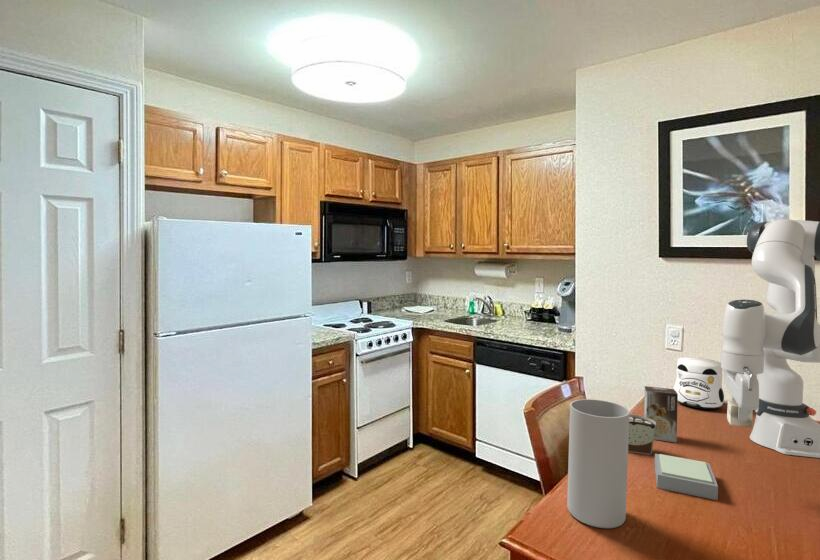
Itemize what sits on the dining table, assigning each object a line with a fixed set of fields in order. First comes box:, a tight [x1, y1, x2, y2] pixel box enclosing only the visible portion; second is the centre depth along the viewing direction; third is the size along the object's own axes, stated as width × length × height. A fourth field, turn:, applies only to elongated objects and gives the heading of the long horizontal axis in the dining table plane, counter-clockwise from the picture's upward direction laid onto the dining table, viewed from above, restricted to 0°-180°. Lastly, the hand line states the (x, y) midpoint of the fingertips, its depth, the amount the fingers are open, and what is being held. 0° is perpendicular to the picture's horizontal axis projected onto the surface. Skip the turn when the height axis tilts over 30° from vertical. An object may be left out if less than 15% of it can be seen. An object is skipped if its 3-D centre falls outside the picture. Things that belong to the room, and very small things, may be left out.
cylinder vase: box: [566, 398, 630, 529], centre depth 103 cm, size 12×12×25 cm
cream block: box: [726, 400, 754, 429], centre depth 115 cm, size 4×4×5 cm
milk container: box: [673, 356, 725, 410], centre depth 181 cm, size 17×17×18 cm
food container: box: [628, 413, 658, 456], centre depth 139 cm, size 12×6×10 cm, turn 71°
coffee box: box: [643, 385, 679, 443], centre depth 148 cm, size 9×6×16 cm
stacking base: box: [654, 453, 719, 501], centre depth 119 cm, size 13×14×4 cm
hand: (739, 416), depth 115 cm, fingers closed on cream block, 4 cm apart
